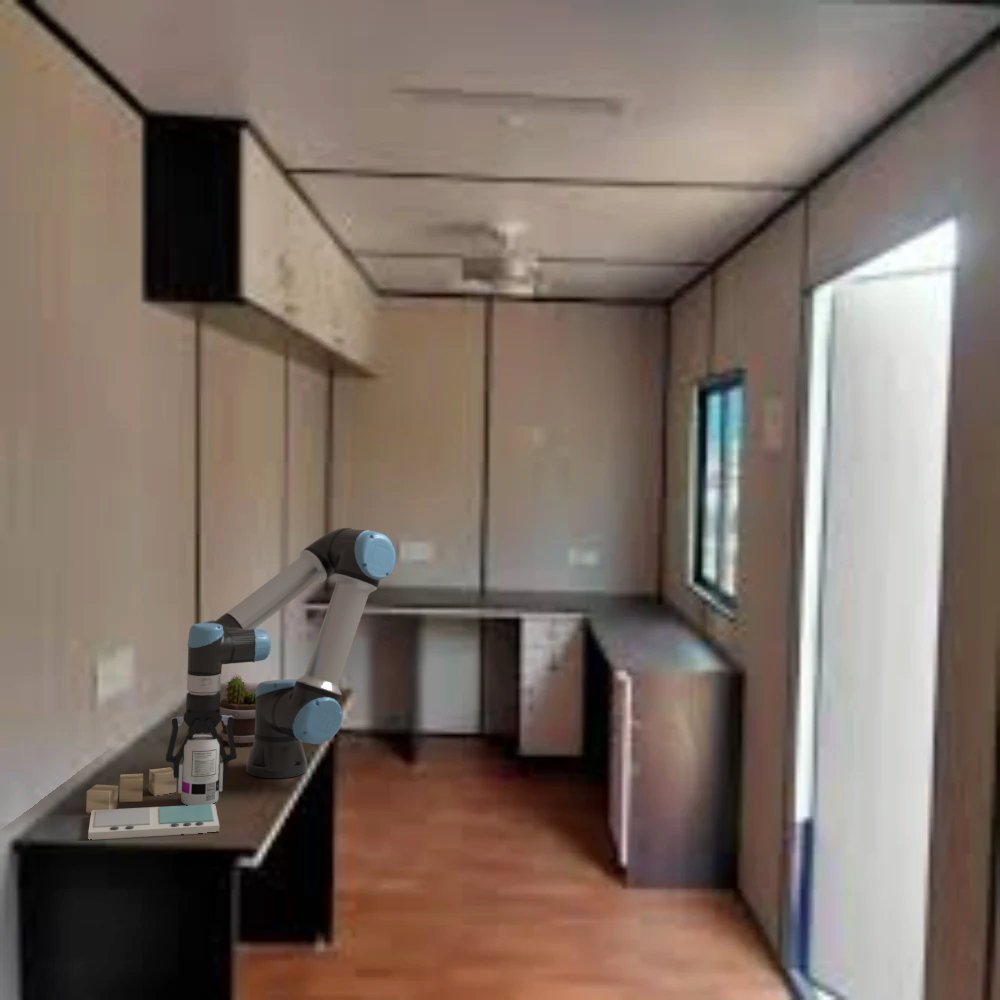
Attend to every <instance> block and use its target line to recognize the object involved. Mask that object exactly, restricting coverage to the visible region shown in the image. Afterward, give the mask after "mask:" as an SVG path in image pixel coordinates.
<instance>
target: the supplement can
mask: <svg viewBox="0 0 1000 1000" xmlns="http://www.w3.org/2000/svg"><path fill="white" fill-rule="evenodd" d="M219 750H220V745H219V743H218V741H217V739H213V737H212V734H211V733H198V734H195V733H194V735H193V737H192V739H191V740H188V741H187V742H186V744H185V746H184V755H183V757H182V759H181V760H182V761H181V762H182V763H183V773H182V793H180V794H181V795H180V801H181V803H183V805H184V804H186V805H209V804H213V803H215V802H216V803H217V802H218V801H219V799H220V796H219V795H220V794H219V793H220V792H219V767H220V760H221V755H220V752H219ZM216 803H215V804H216ZM186 805H185V806H186Z"/></svg>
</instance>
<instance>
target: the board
mask: <svg viewBox="0 0 1000 1000" xmlns="http://www.w3.org/2000/svg"><path fill="white" fill-rule="evenodd" d="M216 831H219V832H220V821H219V815H218V810H217V807H216V803H215V804H209V805H188V806H186V805H171V806H170V805H169V806H151V807H148V806H147V807H133V808H130V807H129V808H128V807H127V808H116V809H106V810H92V811H91V814H90V818H89V826H88V833H87V839H89V840H88V841H94V840H111V839H113V840H114V839H128V838H130V839H131V838H145V837H146V838H147V837H149V838H150V837H164V836H166V837H167V836H181V834H184V835H199V834H198V833H203V834H208V833H207V832H216ZM90 839H92V840H90Z"/></svg>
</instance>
